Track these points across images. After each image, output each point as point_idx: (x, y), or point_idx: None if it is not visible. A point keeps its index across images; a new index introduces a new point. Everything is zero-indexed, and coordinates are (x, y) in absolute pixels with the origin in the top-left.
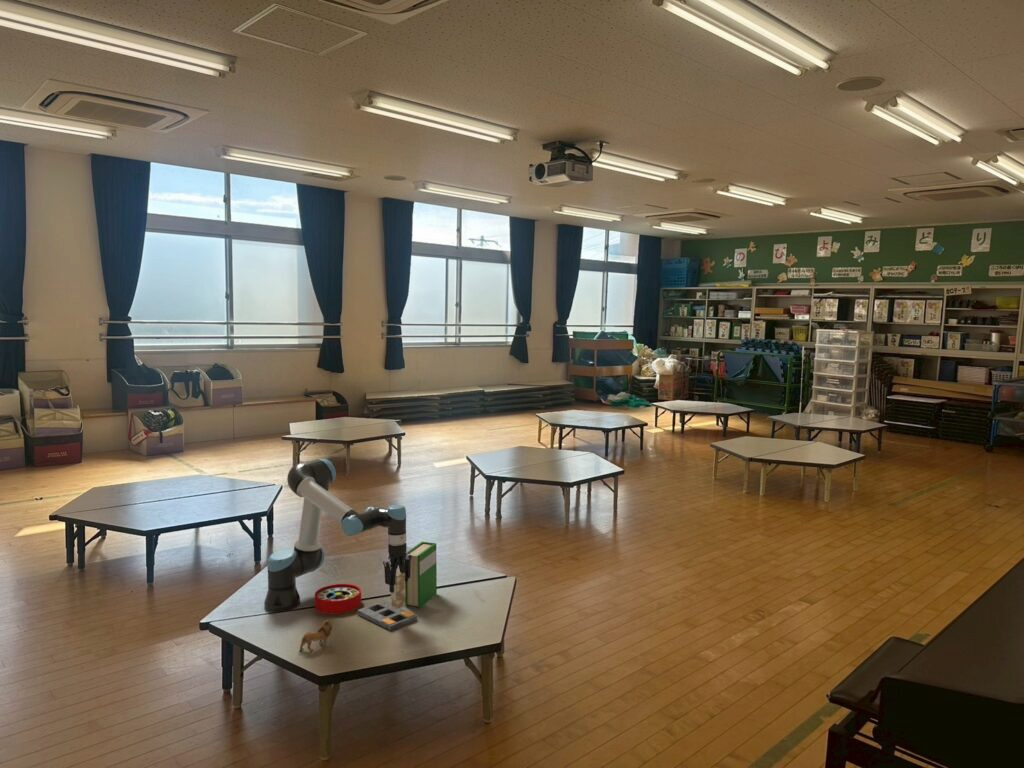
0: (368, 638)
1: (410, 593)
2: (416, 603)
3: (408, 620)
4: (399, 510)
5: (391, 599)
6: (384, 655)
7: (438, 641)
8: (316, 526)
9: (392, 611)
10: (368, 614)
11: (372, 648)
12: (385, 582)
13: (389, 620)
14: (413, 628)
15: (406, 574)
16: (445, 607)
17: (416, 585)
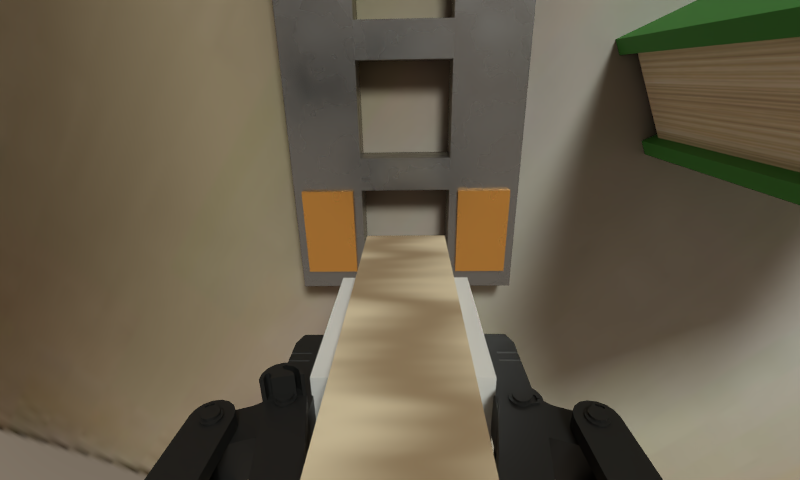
0: (175, 259)
1: (704, 74)
2: (664, 123)
3: None
4: None
5: (361, 258)
6: (168, 424)
7: None
8: None
9: (451, 113)
10: (286, 28)
11: (149, 350)
12: (188, 428)
13: (339, 231)
14: None
15: (606, 449)
16: (745, 255)
17: (784, 145)
